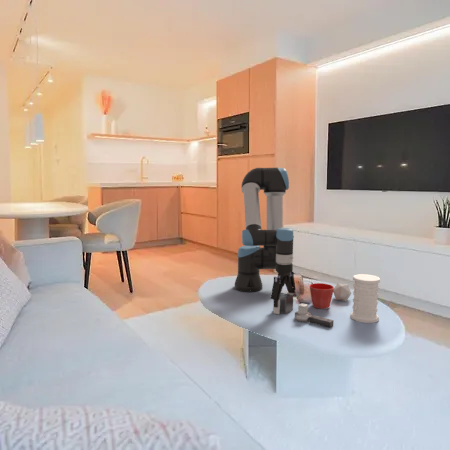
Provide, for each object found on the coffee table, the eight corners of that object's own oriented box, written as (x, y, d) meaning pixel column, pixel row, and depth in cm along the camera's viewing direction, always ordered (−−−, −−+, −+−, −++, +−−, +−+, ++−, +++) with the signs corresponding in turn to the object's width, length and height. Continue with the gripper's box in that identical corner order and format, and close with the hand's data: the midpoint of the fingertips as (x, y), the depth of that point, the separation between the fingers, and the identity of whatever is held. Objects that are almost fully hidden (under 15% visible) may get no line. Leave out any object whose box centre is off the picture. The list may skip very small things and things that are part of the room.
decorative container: (376, 325, 160) (379, 282, 157) (347, 319, 165) (349, 278, 163) (380, 315, 170) (382, 276, 167) (353, 311, 175) (355, 272, 173)
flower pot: (317, 300, 189) (317, 281, 188) (337, 306, 182) (338, 286, 180) (304, 306, 182) (305, 285, 181) (325, 312, 174) (326, 291, 173)
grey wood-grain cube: (273, 310, 176) (273, 295, 175) (280, 306, 181) (280, 292, 180) (285, 313, 172) (286, 298, 171) (292, 309, 177) (293, 295, 176)
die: (342, 305, 185) (354, 289, 185) (327, 293, 189) (339, 278, 189) (344, 305, 192) (356, 290, 192) (330, 294, 196) (341, 279, 196)
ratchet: (291, 319, 165) (291, 305, 164) (299, 315, 171) (299, 301, 170) (328, 329, 155) (328, 314, 154) (335, 324, 160) (335, 309, 160)
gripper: (277, 269, 162) (277, 319, 165) (304, 259, 180) (302, 304, 183) (262, 266, 166) (262, 315, 169) (289, 257, 185) (288, 301, 188)
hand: (283, 310), depth 176 cm, fingers open, 11 cm apart
